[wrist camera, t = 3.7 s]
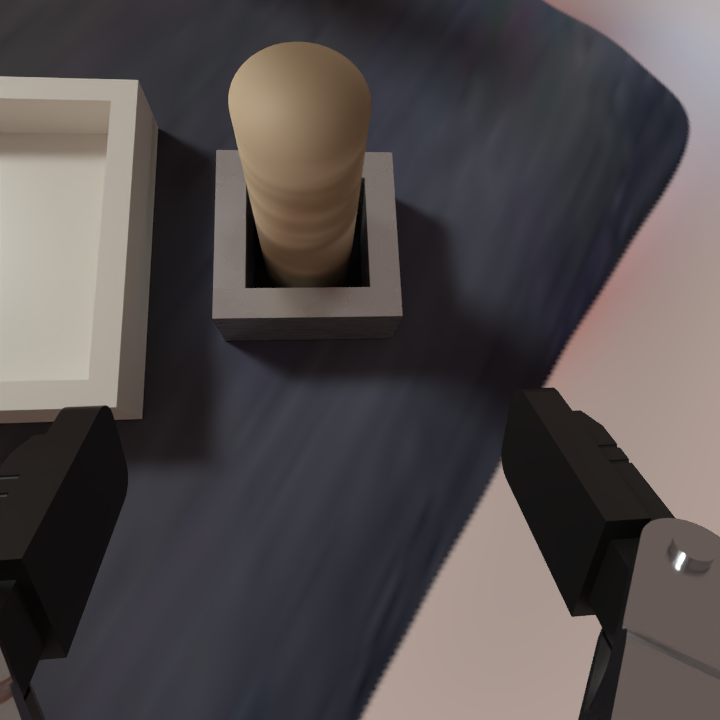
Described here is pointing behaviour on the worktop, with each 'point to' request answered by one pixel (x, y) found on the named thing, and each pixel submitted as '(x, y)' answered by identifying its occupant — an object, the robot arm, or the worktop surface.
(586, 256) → the worktop surface
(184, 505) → the worktop surface
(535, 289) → the worktop surface
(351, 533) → the worktop surface
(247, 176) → the peg
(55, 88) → the tray
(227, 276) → the collar
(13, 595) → the robot arm
